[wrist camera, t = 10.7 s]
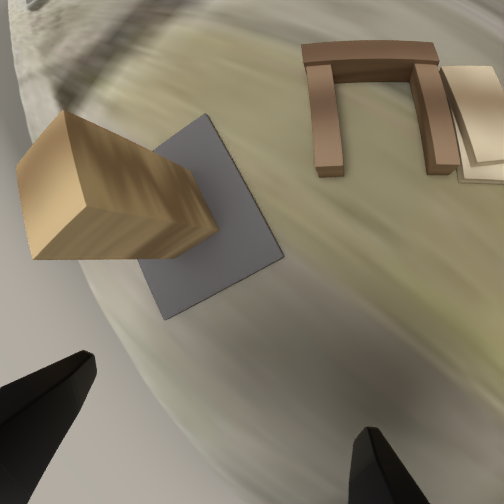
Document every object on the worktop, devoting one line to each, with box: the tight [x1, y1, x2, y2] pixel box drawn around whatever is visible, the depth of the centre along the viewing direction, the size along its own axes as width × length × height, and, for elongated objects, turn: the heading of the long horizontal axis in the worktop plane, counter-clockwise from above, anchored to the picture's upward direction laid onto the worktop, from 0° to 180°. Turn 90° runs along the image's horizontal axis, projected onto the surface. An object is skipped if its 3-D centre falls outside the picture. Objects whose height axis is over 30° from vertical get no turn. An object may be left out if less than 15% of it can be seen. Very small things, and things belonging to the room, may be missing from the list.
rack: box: [301, 40, 504, 184], centre depth 16 cm, size 9×15×3 cm, turn 91°
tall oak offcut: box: [16, 110, 220, 260], centre depth 16 cm, size 5×4×12 cm
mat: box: [137, 113, 284, 320], centre depth 22 cm, size 12×10×1 cm
